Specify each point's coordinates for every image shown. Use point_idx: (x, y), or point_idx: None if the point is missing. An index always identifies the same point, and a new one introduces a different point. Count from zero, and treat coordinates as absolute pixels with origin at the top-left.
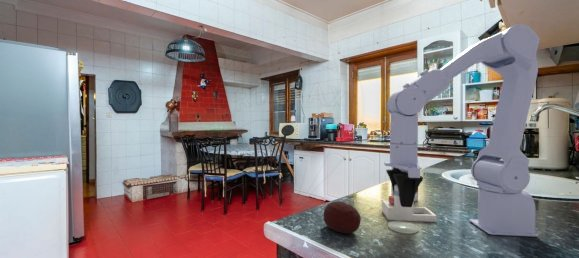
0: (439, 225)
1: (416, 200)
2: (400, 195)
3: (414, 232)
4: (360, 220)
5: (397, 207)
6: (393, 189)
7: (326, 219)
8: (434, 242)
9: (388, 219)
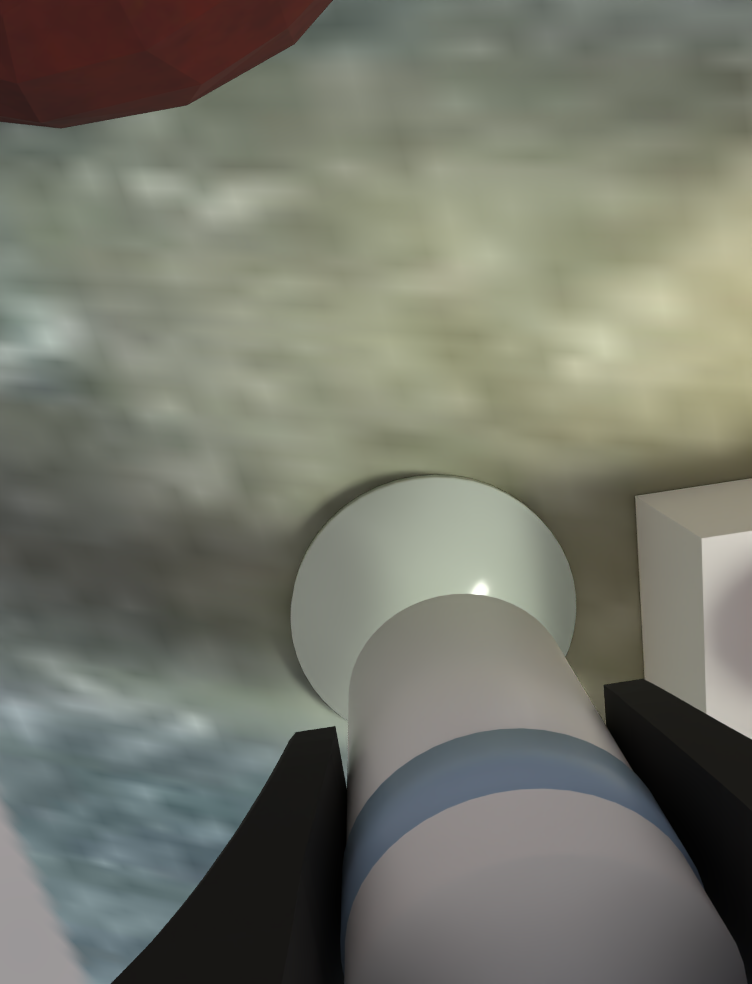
0: None
1: None
2: (236, 836)
3: (322, 693)
4: (37, 123)
5: (391, 663)
6: (694, 761)
7: None
8: (178, 802)
9: (638, 498)
